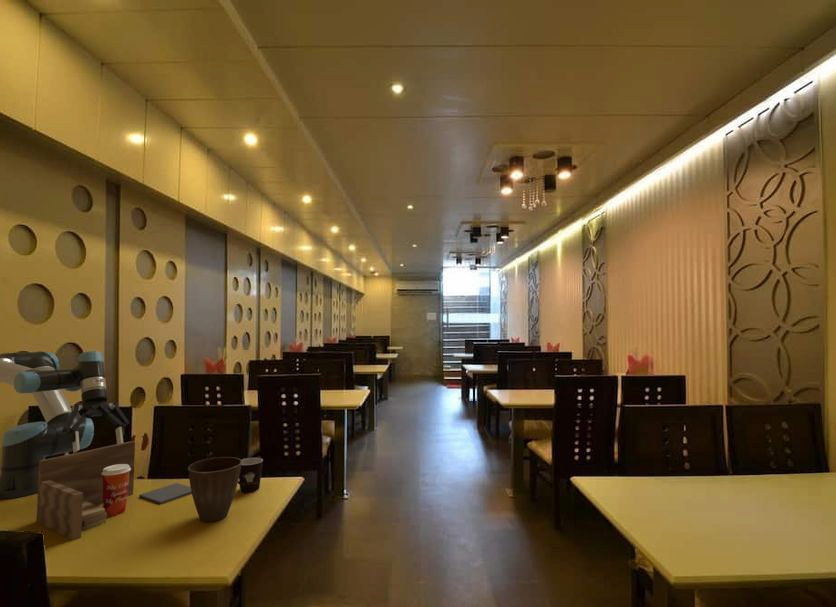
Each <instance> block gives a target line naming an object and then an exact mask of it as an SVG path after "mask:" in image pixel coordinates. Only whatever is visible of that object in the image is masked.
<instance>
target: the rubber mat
mask: <svg viewBox="0 0 836 607" xmlns="http://www.w3.org/2000/svg"><path fill="white" fill-rule="evenodd" d="M190 495H192V491H191V486H190V485H185V484H181V483H179V482H176V483H173V484H169V485H166V486H163V487H160V488H156V489H153V490H150V491H147V492H145V493H140V494H139V495H138V497H139V498H141V497H142V498H141V499H143V498H145V499H144V500H146V499H147V501H149V500H150V501H149V502H152V501H153V503H155V504H158V505H163V504H166V503H169V502H173V501H175V500H177V499H180V498H184V497H185V496H186V497H187V496H190Z"/></svg>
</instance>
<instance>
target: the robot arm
mask: <svg viewBox="0 0 836 607" xmlns="http://www.w3.org/2000/svg"><path fill="white" fill-rule="evenodd" d="M77 359H78V360H77V362H78V364H77V365H76V366H75V367H74V368H62V369H60V364H59V362H60V361H59V358H58V356H56V354H55V353H52V352H50V351H42V350H39V351H34V352H33V351H32V352H31V351H28V352H25V351H24V352H5V353H4V352H3V353H0V383H5V384H8V385H11V386H13V388H14V390H15V392H16V393H18V394H32V395H33V398H34V399H35V402H36V403H37V406H38V408H39V410H40V411H41V414H42V416H43V418H44V420H45V421H35V422H28V423H24V424H23V423H22V424H19V425H16V426H13V427H11V428H9V429H7V430H5V431H4V433H3V438H2V442H1V463H0V466H1V467H0V500H6V499H7V500H8V499H14V498H21V497H22V498H23V497H26V496H30V495H33V494H38V480H39V461H40V460H45V459H46V458H47V457H50V456H56V455H60V454H64V453H70V452H73V453H78V451H79V452H80V450H83V449H85V448H87V447H89V446H90V445H91V443H92V441H93V439H94V434H95V433H94V431H95V426H94V422H93V419H92V417H101V416H102V417H104V418H105V419H106V420H107V421H109V422H110V423H111V424H113V425H114V426H115V427H116V429H115V436H116V444H121V443H124V436H125V432H126V431H125V427H126V426H128V425H130V421H129V419H128V418H127V417H126V415H125V414H124V413H123V411H122V410H121V408H120V407H119V403H118V402H117V401H114V402H110V403H109V402H108V391H107V382H106V372H105V370H106V369H105V361H104V356H103V353H102V352H100V351H99V350H98V351H97V350H88V351H84V352H81V353H80V354H79V355H78V357H77ZM62 390H65V391H68V392H71V393H72V392H73V393H74V392H77V391H80V393H81V403H82V404H79V403H75V404H74V405H73V406H72V407H71V405H70V403H69V401H68V400H67V398H66V396H65V394H64V392H63V391H62ZM80 410H82V412H83V414H82V415H81V414H80V412H79V411H80ZM112 412H113V413H112ZM88 417H91V418H88ZM73 453H72V454H73Z"/></svg>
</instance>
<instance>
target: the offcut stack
mask: <svg viewBox="0 0 836 607" xmlns="http://www.w3.org/2000/svg"><path fill="white" fill-rule="evenodd" d="M107 518H108V516H107V513H105V509H104V508H103V507H102V506H100V505H94V504H92V503H89V502H87V501H85V502H83V506H82V528H81V532H85V531H87V530H90V529H93V528H96V527H98V525H99V526H101V524H102V525H104V524H106V519H107ZM103 523H104V524H103Z"/></svg>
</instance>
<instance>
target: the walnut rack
mask: <svg viewBox="0 0 836 607" xmlns="http://www.w3.org/2000/svg"><path fill="white" fill-rule="evenodd" d="M135 452H136V442H135V441H133V440H131V441H127V442H123V443H121V444H117V443H115V444H112V445H111V444H110V445H108V446H103V447H98V448H93V449H88V450H84V451H79V452H78V451H77V452H75V453H69V454H64V455H59V456H56V457H49V458H47V459H46V458H45V460H40V461H39V480H38V492H37V498H36V499H37V500H36V501H37V502H36V523H38V524H40V525H42V526H44V527H46V528H48V529H50V530H51V531H53V532H56V533H57V534H59V535H61V534H62V535H61V536H62V537H64V538H67V539H69V540H70V541H74V539H75V540H77V539H81V538H82V531H81V528H82V506H83V502H85V501H87V502H89V503H92V504H94V505H97V506H100V505H103V475H102V474H101V473H102V472H103V469H104V468H106V467H108V466H112V465H117V464H128V465H129V466H130V468H131V470H130V472H129V482H128V492H127V497H128V496H131V495H134V482H135V479H134V478H135V458H136V457H135V455H136V453H135Z"/></svg>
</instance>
